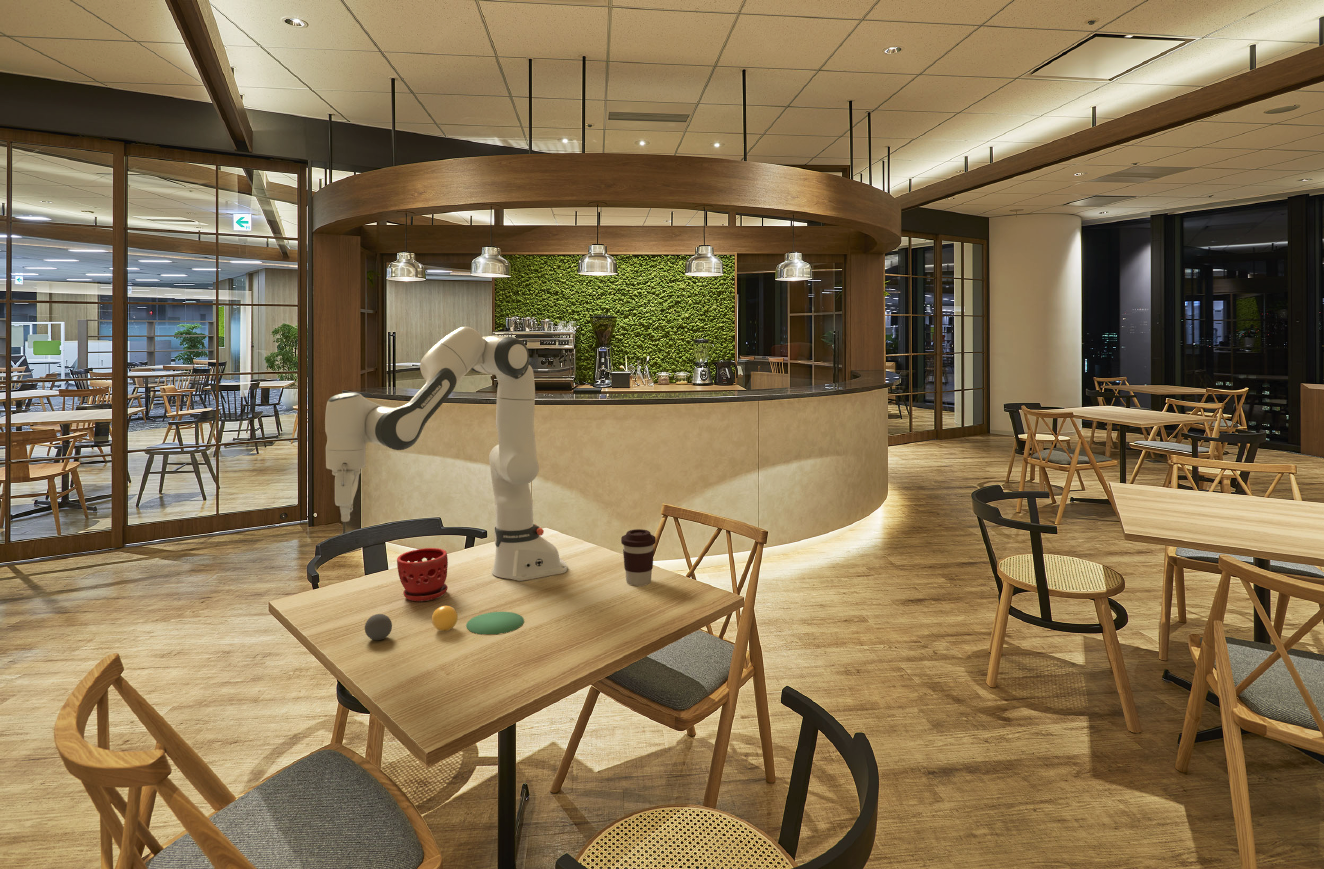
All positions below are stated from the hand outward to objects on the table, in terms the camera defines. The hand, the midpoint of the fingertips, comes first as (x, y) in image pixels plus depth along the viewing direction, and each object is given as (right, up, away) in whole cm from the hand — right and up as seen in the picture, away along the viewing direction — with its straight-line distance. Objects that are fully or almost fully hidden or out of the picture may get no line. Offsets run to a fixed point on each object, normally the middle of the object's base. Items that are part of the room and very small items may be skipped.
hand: (347, 516), depth 173 cm
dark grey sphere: (+10, -26, -6) cm, 28 cm away
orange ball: (+24, -25, -1) cm, 34 cm away
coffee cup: (+70, -23, +34) cm, 81 cm away
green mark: (+35, -27, +4) cm, 45 cm away
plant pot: (+11, -25, +23) cm, 36 cm away
